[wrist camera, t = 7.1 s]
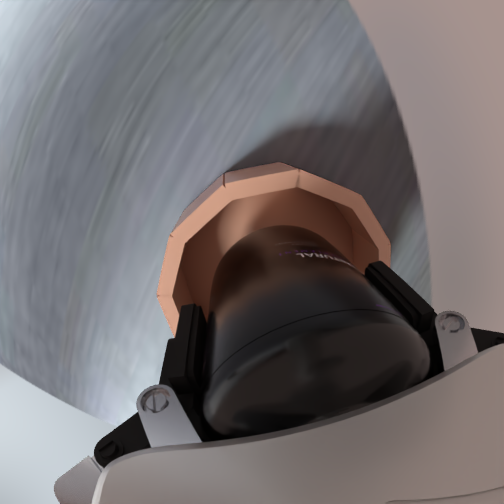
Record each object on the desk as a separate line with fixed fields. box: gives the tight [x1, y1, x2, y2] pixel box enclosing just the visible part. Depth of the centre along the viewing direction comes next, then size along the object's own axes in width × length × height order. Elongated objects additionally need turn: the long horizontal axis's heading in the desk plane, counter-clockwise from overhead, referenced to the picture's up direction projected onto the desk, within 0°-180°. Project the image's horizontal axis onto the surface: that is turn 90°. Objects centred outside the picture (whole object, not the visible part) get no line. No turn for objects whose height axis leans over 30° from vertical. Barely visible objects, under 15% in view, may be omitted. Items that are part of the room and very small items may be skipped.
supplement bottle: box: [199, 225, 434, 442], centre depth 8 cm, size 7×7×12 cm
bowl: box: [157, 162, 391, 337], centre depth 14 cm, size 11×11×4 cm
